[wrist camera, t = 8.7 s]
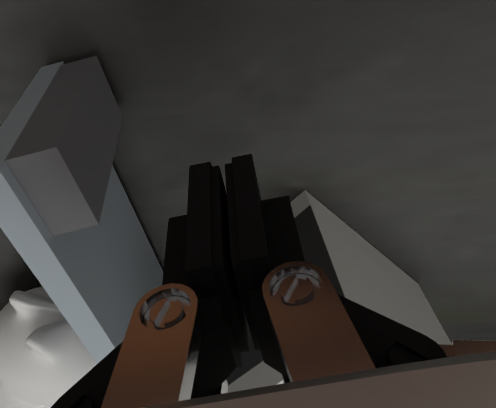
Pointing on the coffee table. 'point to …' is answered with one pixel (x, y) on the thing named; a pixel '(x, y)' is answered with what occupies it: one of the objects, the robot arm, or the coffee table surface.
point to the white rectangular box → (345, 284)
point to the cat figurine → (38, 352)
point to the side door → (74, 202)
